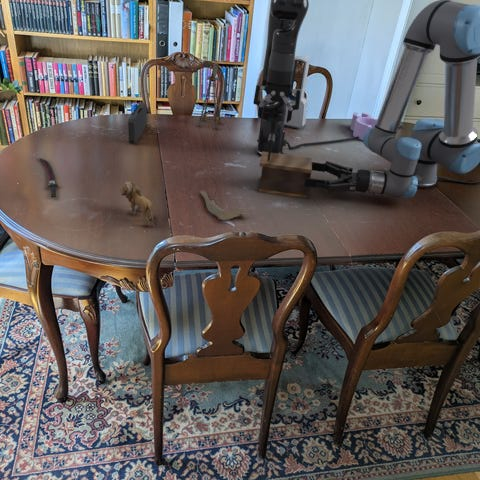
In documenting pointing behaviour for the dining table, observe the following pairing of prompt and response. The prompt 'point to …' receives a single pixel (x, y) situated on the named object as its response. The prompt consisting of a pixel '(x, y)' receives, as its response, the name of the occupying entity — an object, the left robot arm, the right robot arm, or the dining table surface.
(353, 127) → the clip
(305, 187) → the chest
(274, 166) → the lid
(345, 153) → the dining table surface
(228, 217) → the jawbone
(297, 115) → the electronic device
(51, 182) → the sword
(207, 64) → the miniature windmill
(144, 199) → the lion figurine
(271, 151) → the left robot arm
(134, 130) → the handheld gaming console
